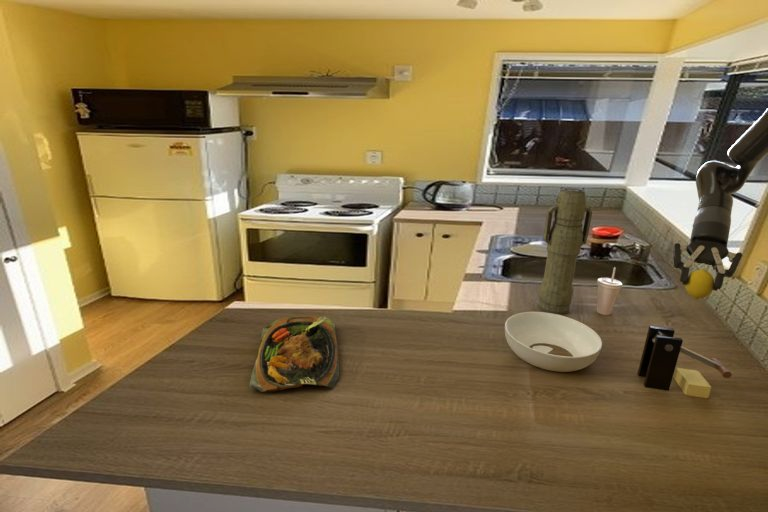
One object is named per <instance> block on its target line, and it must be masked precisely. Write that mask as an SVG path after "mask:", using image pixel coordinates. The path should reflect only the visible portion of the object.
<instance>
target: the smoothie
mask: <svg viewBox="0 0 768 512" xmlns="http://www.w3.org/2000/svg"><path fill="white" fill-rule="evenodd" d="M616 269H617V267H615V266H614V267H613V269H612V274H611V277H599V278H597V281H596V284H597V295H596V296H597V297H596V313H598V314H600V315H602V316H610V315H611V314H612V311H613V309H614V306H615V303H616V300H617V298H618V295H619V293H620V289H622V288H623V283H622V281H620V280H618V279H616V278H615V276H616Z"/></svg>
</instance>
